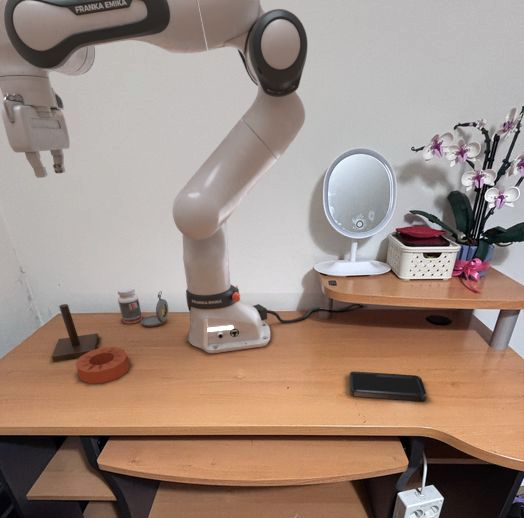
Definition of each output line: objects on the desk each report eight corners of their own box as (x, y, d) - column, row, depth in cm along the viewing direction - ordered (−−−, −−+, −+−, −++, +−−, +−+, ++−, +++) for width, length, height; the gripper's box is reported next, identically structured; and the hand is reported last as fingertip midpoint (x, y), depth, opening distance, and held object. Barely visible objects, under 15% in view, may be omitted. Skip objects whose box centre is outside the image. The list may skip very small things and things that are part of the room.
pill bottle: (146, 319, 115) (139, 288, 110) (129, 325, 111) (122, 294, 106) (135, 314, 118) (129, 284, 113) (119, 320, 114) (111, 289, 109)
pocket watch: (140, 320, 114) (133, 289, 109) (168, 315, 117) (163, 284, 112) (144, 331, 107) (137, 299, 102) (173, 325, 110) (168, 293, 105)
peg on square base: (99, 337, 105) (87, 295, 99) (95, 355, 97) (82, 310, 90) (60, 343, 103) (45, 301, 96) (53, 361, 94) (37, 316, 88)
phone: (427, 397, 75) (350, 391, 78) (426, 401, 76) (350, 395, 78) (420, 375, 82) (349, 370, 84) (419, 379, 82) (349, 374, 85)
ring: (134, 357, 95) (132, 346, 93) (121, 382, 85) (118, 370, 84) (90, 358, 95) (86, 347, 93) (71, 384, 85) (67, 372, 84)
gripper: (20, 91, 64) (46, 179, 71) (65, 100, 82) (83, 170, 89) (-18, 92, 64) (12, 181, 71) (36, 101, 82) (55, 171, 89)
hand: (51, 175), depth 80 cm, fingers open, 8 cm apart
